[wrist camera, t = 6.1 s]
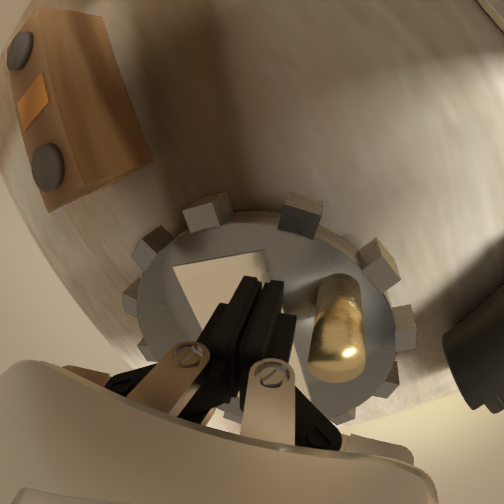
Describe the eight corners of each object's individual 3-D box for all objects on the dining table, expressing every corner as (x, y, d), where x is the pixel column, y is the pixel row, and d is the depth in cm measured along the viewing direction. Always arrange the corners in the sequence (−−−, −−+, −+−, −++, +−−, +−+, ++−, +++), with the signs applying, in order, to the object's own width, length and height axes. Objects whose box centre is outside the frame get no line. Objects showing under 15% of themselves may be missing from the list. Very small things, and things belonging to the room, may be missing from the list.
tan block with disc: (103, 17, 12) (30, 5, 7) (153, 160, 16) (76, 189, 11) (69, 49, 14) (-1, 50, 8) (113, 183, 18) (40, 216, 12)
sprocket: (394, 153, 11) (447, 186, 6) (403, 402, 18) (406, 474, 12) (100, 231, 18) (31, 278, 12) (200, 406, 24) (173, 460, 19)
